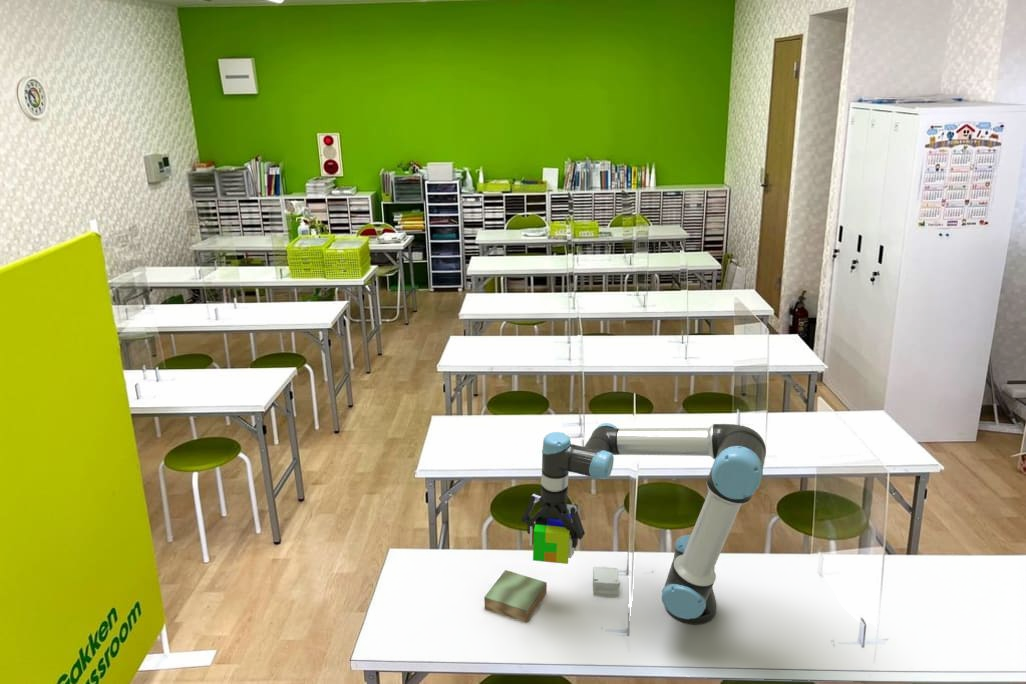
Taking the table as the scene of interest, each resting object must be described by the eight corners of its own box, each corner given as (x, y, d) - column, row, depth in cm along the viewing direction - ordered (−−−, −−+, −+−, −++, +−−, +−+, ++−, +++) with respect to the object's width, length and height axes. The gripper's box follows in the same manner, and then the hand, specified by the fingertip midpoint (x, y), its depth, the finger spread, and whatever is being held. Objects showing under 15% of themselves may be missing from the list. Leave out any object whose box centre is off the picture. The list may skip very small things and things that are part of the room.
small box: (617, 580, 240) (618, 567, 238) (618, 597, 233) (619, 583, 231) (592, 579, 241) (593, 565, 239) (592, 596, 234) (593, 582, 232)
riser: (546, 593, 234) (546, 582, 233) (527, 622, 222) (527, 610, 221) (505, 581, 240) (505, 569, 238) (484, 608, 228) (484, 597, 227)
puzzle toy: (569, 542, 228) (571, 514, 224) (567, 563, 219) (569, 534, 215) (536, 539, 229) (537, 511, 226) (532, 560, 220) (533, 531, 216)
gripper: (599, 489, 214) (594, 554, 222) (522, 468, 224) (520, 531, 232) (589, 502, 208) (585, 568, 216) (510, 480, 218) (509, 544, 225)
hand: (551, 549), depth 224 cm, fingers closed on puzzle toy, 12 cm apart
